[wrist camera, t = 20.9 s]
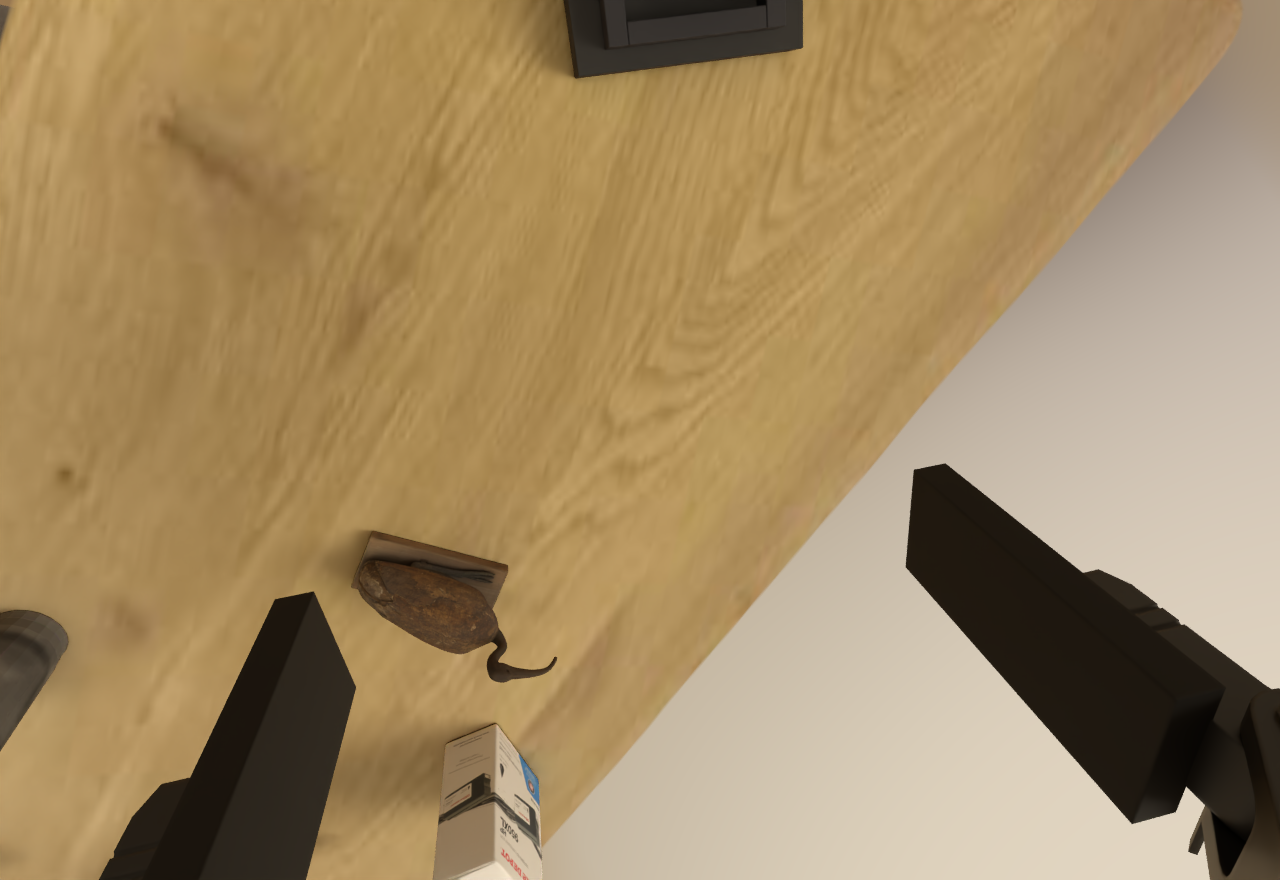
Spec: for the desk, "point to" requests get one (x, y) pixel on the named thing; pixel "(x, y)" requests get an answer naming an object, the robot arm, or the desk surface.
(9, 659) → the beverage cup
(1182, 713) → the robot arm
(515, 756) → the ink box
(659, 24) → the base pad
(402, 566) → the figurine
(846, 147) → the desk surface
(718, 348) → the desk surface
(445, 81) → the desk surface
